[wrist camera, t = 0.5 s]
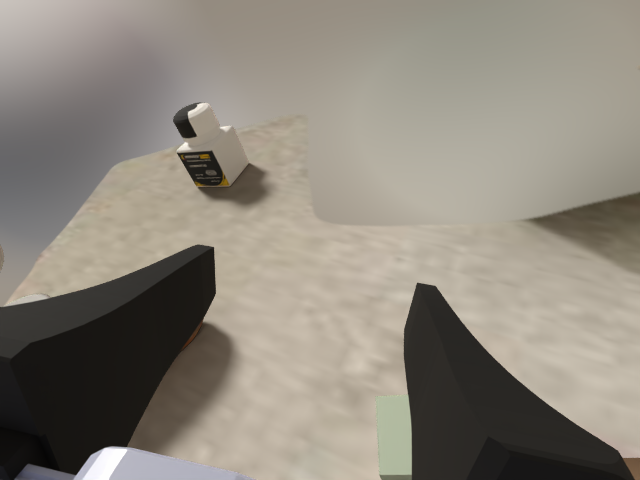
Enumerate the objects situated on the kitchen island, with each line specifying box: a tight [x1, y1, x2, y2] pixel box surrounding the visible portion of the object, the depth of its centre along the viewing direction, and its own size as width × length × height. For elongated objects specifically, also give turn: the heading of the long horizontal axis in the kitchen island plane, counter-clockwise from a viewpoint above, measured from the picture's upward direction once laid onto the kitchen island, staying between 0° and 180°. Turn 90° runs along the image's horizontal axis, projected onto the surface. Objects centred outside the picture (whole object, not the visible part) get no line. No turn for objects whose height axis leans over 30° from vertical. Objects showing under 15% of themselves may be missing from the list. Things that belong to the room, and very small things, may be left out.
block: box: [376, 395, 412, 480], centre depth 23 cm, size 4×4×5 cm
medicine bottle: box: [173, 103, 249, 187], centre depth 59 cm, size 7×7×12 cm
